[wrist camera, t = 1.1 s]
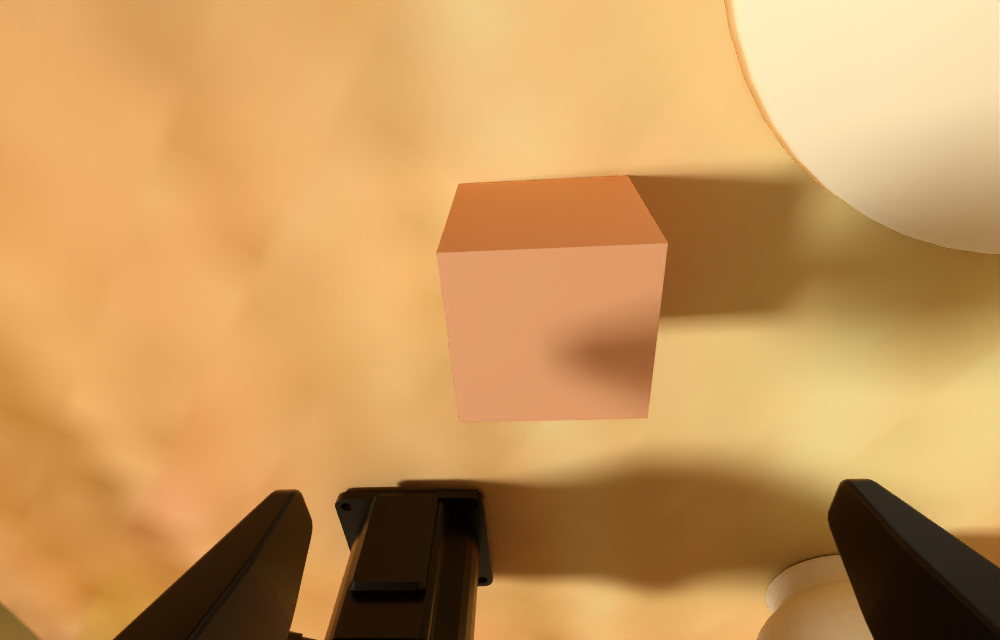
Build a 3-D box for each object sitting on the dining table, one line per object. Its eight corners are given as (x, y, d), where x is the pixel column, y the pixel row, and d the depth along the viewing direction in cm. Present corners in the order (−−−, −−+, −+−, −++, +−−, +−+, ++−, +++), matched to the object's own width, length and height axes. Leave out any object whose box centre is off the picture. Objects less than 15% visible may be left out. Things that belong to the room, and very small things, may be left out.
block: (617, 318, 18) (647, 418, 14) (473, 323, 18) (459, 422, 14) (627, 174, 15) (667, 243, 11) (459, 182, 16) (436, 253, 11)
